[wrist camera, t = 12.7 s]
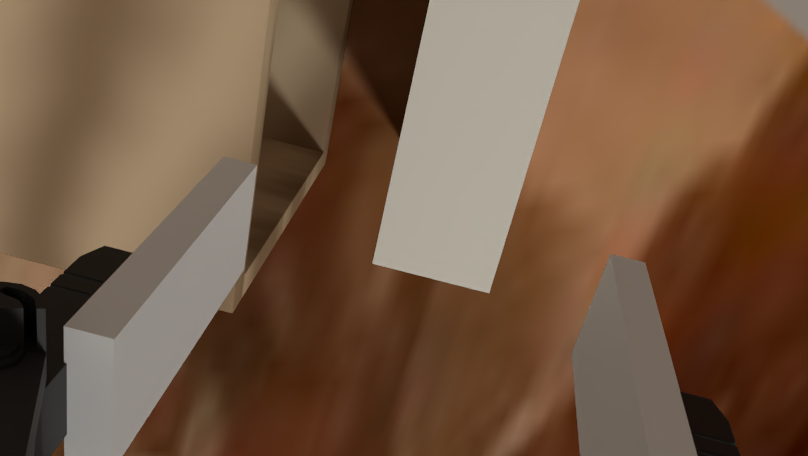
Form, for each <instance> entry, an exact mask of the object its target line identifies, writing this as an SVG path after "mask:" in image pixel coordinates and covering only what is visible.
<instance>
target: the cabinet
mask: <svg viewBox="0 0 808 456" xmlns="http://www.w3.org/2000/svg"><path fill="white" fill-rule="evenodd" d="M352 5H353V0H0V253H2V254H6V255H10V256H14V257H18V258H22V259H25V260H29V261H33V262H37V263H41V264H45V265H48V266H52V267H56V268H60V269H64V270H66V269H67V268H68V267H69V266H70V265H71V264H72V263H73V262H75V261H76V260H77V259H78V258H79V257H80V256H82V255H84V254H86V253H89V252H91V251H93V250H96V249H98V248H100V247H103V246H108V247H112V248H116V249H120V250H124V251H128V252H132V253H133V252H134V251H135V250H136V249H137V248H138V247H139V246H140V245H141V244H142V243H143V241H144V240H145V239H146V238H147V237H148V236H149V235H150V234H151V233H152V232H153V231H154V230H155V229H156V228H157V227H158V226H159V225H160V223H161V222H162V221H163V220H164V219H165V218H166V217H167V216H168V215H169V214H170V213H171V212H172V211H173V210H174V209H175V208H176V207H177V205H178V204H179V203H180V202H181V201H182V200H183V199H184V198H185V197H186V196H187V195H188V194H189V193H190V192H191V191H192V190H193V189H194V187H195V186H196V185H197V184H198V183H199V182H200V181H201V180H202V179H203V178H204V177H205V176H206V175H207V174H208V173H209V172H210V170H211V169H212V168H213V167H214V166H215V165H216V164H217V163H218V162H219V161H220V160H221V159H222V158H223V157H228V158H232V159H236V160H240V161H244V162H247V163H251V164H255V165H257V171H256V179H255V187H254V195H253V203H252V211H251V219H250V227H249V234H248V242H247V250H246V258H245V266H244V271H243V272H242V274H241V275H240V277H239V278H238V280H237V281H236V283H235V284H234V286H233V287H232V289H231V290H230V292H229V294H228V295H227V297H226V298H225V300H224V301H223V303H222V304H221V306H220V307H219V309H218V310H222V311H225V312H229V313H233V311H234V310H235V308H236V306H237V305H238V303H239V301H240V300H241V298H242V297H243V295H244V293H245V292H246V290H247V289H248V287H249V285H250V284H251V282H252V281H253V279H254V277H255V276H256V274H257V272H258V271H259V269H260V268H261V266H262V264H263V263H264V261H265V260H266V258H267V256H268V255H269V253H270V252H271V250H272V248H273V247H274V245H275V243H276V242H277V240H278V239H279V237H280V235H281V234H282V232H283V231H284V229H285V227H286V226H287V224H288V223H289V221H290V219H291V218H292V216H293V214H294V213H295V211H296V210H297V208H298V206H299V205H300V203H301V202H302V200H303V198H304V197H305V195H306V194H307V192H308V190H309V189H310V187H311V185H312V184H313V182H314V181H315V179H316V177H317V176H318V174H319V173H320V171H321V169H322V168H323V166H324V164H325V163H326V157H327V151H328V145H329V139H330V134H331V128H332V122H333V116H334V110H335V104H336V99H337V93H338V87H339V81H340V75H341V69H342V64H343V58H344V52H345V46H346V40H347V34H348V29H349V23H350V17H351V11H352Z"/></svg>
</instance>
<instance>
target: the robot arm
mask: <svg viewBox="0 0 808 456" xmlns="http://www.w3.org/2000/svg"><path fill="white" fill-rule="evenodd" d="M256 171H257V165H255V164H251V163H247V162H244V161H240V160H236V159H232V158H228V157H223V158H222V159H221V160H220V161H219V162H218V163H217V164H216V165H215V166H214V167H213V168H212V169H211V170H210V172H209V173H208V174H207V175H206V176H205V177H204V178H203V179H202V180H201V181H200V182H199V183H198V184H197V185H196V186H195V187H194V189H193V190H192V191H191V192H190V193H189V194H188V195H187V196H186V197H185V198H184V199H183V200H182V201H181V202H180V203H179V204H178V205H177V207H176V208H175V209H174V210H173V211H172V212H171V213H170V214H169V215H168V216H167V217H166V218H165V219H164V220H163V221H162V222H161V223H160V225H159V226H158V227H157V228H156V229H155V230H154V231H153V232H152V233H151V234H150V235H149V236H148V237H147V238H146V239H145V240H144V241H143V243H142V244H141V245H140V246H139V247H138V248H137V249H136V250H135V251H134V252H133V253H132V252H128V251H124V250H120V249H116V248H112V247H108V246H103V247H100V248H98V249H96V250H93V251H91V252H89V253H86V254H84V255H82V256H80V257H79V258H78V259H77V260H76V261H75V262H73V263H72V264H71V265H70V266H69V267H68V268H67V269H66V270H65V271H64V274H63V275H62V274H61V275H60V276H59V277H58V278H56V279H55V280H54V281H53V282H52V283H51V286H50V287H47V288H46V289H45V290H44V291H43V292H42V293H41V294H39V293H38V292H37V291H36V290H34V289H32V288H30V287H27V286H25V285H22V284H16V283H9V282H0V456H51V455H52V453H53V452H54V451H55V449H56V448H57V447H58V445H59V444H60V443H61V441H62V440H63V439H64V456H123V454H124V453H125V451H126V450H127V448H128V447H129V445H130V444H131V442H132V441H133V439H134V438H135V436H136V435H137V433H138V431H139V430H140V428H141V427H142V425H143V424H144V422H145V421H146V419H147V418H148V416H149V415H150V413H151V412H152V410H153V408H154V407H155V405H156V404H157V402H158V401H159V399H160V398H161V396H162V395H163V393H164V392H165V390H166V389H167V387H168V386H169V384H170V382H171V381H172V379H173V378H174V376H175V375H176V373H177V372H178V370H179V369H180V367H181V366H182V364H183V363H184V361H185V359H186V358H187V356H188V355H189V353H190V352H191V350H192V349H193V347H194V346H195V344H196V343H197V341H198V340H199V338H200V336H201V335H202V333H203V332H204V330H205V329H206V327H207V326H208V324H209V323H210V321H211V320H212V318H213V317H214V315H215V313H216V312H217V310H218V309H219V307H220V306H221V304H222V303H223V301H224V300H225V298H226V297H227V295H228V294H229V292H230V290H231V289H232V287H233V286H234V284H235V283H236V281H237V280H238V278H239V277H240V275H241V274H242V272H243V271H244V266H245V258H246V250H247V242H248V234H249V227H250V219H251V211H252V203H253V195H254V187H255V179H256ZM572 364H573V376H574V388H575V400H576V413H577V425H578V437H579V449H580V456H740V453H739V450H738V447H735V444H736V442H735V439H734V436H733V433H732V430H731V427H730V424H729V421H728V420H727V419H726V418H725V416H724V415H723V414H722V413H721V411H720V410H719V409H718V408H717V406H716V405H715V404H714V403H713V401H712V400H711V399H707V398H703V397H699V396H695V395H691V394H688V393H684V392H680V390H679V386H678V382H677V379H676V375H675V371H674V368H673V364H672V360H671V356H670V353H669V349H668V345H667V342H666V338H665V334H664V331H663V327H662V323H661V320H660V316H659V312H658V309H657V305H656V301H655V297H654V294H653V290H652V286H651V283H650V279H649V275H648V272H647V268H646V264H645V263H644V262H640V261H636V260H632V259H628V258H624V257H620V256H616V255H612V254H610V256H609V259H608V262H607V264H606V267H605V269H604V272H603V274H602V277H601V280H600V282H599V285H598V287H597V290H596V292H595V295H594V298H593V300H592V303H591V305H590V308H589V310H588V313H587V316H586V318H585V321H584V323H583V326H582V328H581V331H580V334H579V336H578V339H577V341H576V344H575V346H574V349H573V352H572Z"/></svg>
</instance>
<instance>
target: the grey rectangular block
mask: <svg viewBox="0 0 808 456" xmlns="http://www.w3.org/2000/svg"><path fill="white" fill-rule="evenodd" d="M579 1H580V0H430V1H429V6H428V10H427V15H426V20H425V24H424V29H423V33H422V38H421V43H420V47H419V52H418V56H417V61H416V66H415V70H414V75H413V79H412V84H411V89H410V93H409V98H408V102H407V107H406V112H405V116H404V121H403V126H402V130H401V135H400V139H399V144H398V149H397V153H396V158H395V162H394V167H393V172H392V176H391V181H390V185H389V190H388V195H387V199H386V204H385V208H384V213H383V218H382V222H381V227H380V231H379V236H378V241H377V245H376V250H375V254H374V259H373V264H376V265H380V266H384V267H388V268H392V269H396V270H400V271H404V272H407V273H411V274H415V275H419V276H423V277H427V278H431V279H435V280H439V281H443V282H447V283H451V284H455V285H459V286H462V287H466V288H470V289H474V290H478V291H482V292H486V293H489V292H490V289H491V286H492V282H493V279H494V276H495V273H496V269H497V266H498V263H499V260H500V256H501V253H502V250H503V247H504V244H505V240H506V237H507V234H508V231H509V227H510V224H511V221H512V218H513V214H514V211H515V208H516V205H517V201H518V198H519V195H520V192H521V188H522V185H523V182H524V179H525V175H526V172H527V169H528V166H529V163H530V159H531V156H532V153H533V150H534V146H535V143H536V140H537V137H538V133H539V130H540V127H541V124H542V120H543V117H544V114H545V111H546V107H547V104H548V101H549V98H550V94H551V91H552V88H553V85H554V82H555V78H556V75H557V72H558V69H559V65H560V62H561V59H562V56H563V52H564V49H565V46H566V43H567V39H568V36H569V33H570V30H571V26H572V23H573V20H574V17H575V14H576V10H577V7H578V4H579Z"/></svg>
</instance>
